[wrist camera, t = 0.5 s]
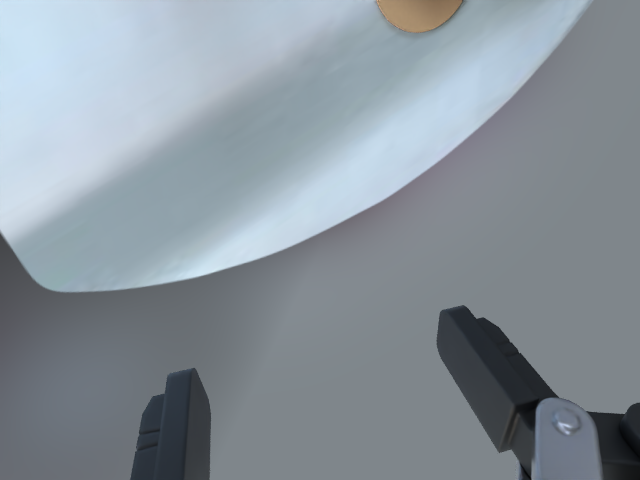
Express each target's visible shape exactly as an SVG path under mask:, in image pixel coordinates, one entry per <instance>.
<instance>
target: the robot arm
mask: <svg viewBox="0 0 640 480" xmlns="http://www.w3.org/2000/svg"><path fill="white" fill-rule="evenodd" d="M437 348H438V352H439V354H440V357H441V359H442V361H443V362H444V364H445V366H446V367H447V369H448V370H449V372H450V374H451V375H452V377H453V379H454V380H455V382H456V384H457V385H458V387H459V388H460V390H461V392H462V393H463V395H464V397H465V398H466V400H467V401H468V403H469V405H470V406H471V408H472V410H473V411H474V413H475V415H476V416H477V418H478V419H479V421H480V422H481V424H482V426H483V428H484V429H485V431H486V432H487V434H488V436H489V437H490V439H491V441H492V442H493V444H494V445H495V447H496V449H497V450H498V452H499V453H500V452H504V451H507V450H511V449H512V451H513V452H514V454H515V455H516V457H517V463H516V480H640V403H636V404H633V405H632V406H630V407H629V409H628V410H627V412H626V413H625V414H614V413H597V412H588V411H585V410H584V409H583V408H581V407H580V406H579V405H577V404H575V403H573V402H571V401H569V400H566V399H562V398H559V397H558V396H557V395H556V394H555V393H554V392H553V391H552V390H551V389H550V387H549V386H548V385H547V384H546V383H545V381H544V380H543V379H542V378H541V377H540V375H539V374H538V373H537V372H536V371H535V370H534V368H533V367H532V366H531V365H530V364H529V363H528V361H527V360H526V359H525V358H524V357H523V355H522V354H521V353H519V352H518V350H517V348H516V347H515V346H514V345H513V344H512V343H510V341H509V339H508V338H507V336H506V335H505V334H504V333H503V332H502V331H501V329H500V328H499V327H497V326H496V325H494V324H493V323H491V322H490V321H488V320H487V319H485V318H479V319H476V318H475V317H474V315H473V314H472V313H471V312H470V310H469V309H468V308H467V307H465V306H463V305H462V306H458V307H454V308H450V309H446V310H442V311H441V312H440V317H439V325H438V334H437ZM210 429H211V413H210V405H209V400H208V397H207V394H206V392H205V390H204V387H203V385H202V382H201V380H200V378H199V375H198V373H197V371H196V369H195V368H192V369H187V370H183V371H179V372H174V373H170V374H169V375H168V377H167V382H166V390H165V394H161V395H157V396H153V397H152V399H151V400H150V402H149V404H148V406H147V407H146V409H145V411H144V413H143V415H142V420H141V425H140V430H139V434H140V435H139V437H138V441H137V446H136V448H137V451H136V452H135V458H134V463H133V468H132V474H131V479H130V480H209V477H210V472H209V471H210Z"/></svg>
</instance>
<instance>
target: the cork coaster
mask: <svg viewBox="0 0 640 480" xmlns="http://www.w3.org/2000/svg"><path fill="white" fill-rule="evenodd" d="M376 1H377V4H378V6H379V8H380V10H381V12H382V13H383V15H384V16H385V17H386V19H387V20H388V21H389V22H390V23H391V24H393V25H394V26H396V27H397V28H399V29H401V30H404V31H407V32H415V33H419V32H426V31H429V30H432V29H434V28H436V27H438V26H440V25H441V24H443V23H444V22H445V21H447V20H448V19H449V18H450V17H451V16H452V15H453V14H454V12H455V11H456V10H457V9H458V7H459V6H460V4H461V3H462V1H463V0H376Z"/></svg>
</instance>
